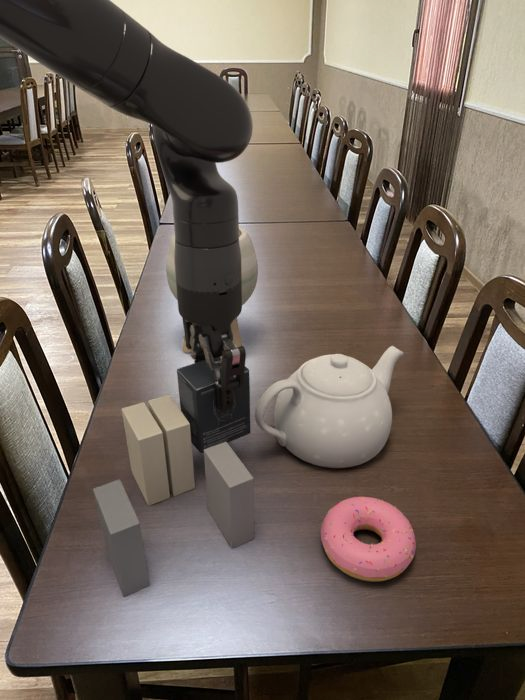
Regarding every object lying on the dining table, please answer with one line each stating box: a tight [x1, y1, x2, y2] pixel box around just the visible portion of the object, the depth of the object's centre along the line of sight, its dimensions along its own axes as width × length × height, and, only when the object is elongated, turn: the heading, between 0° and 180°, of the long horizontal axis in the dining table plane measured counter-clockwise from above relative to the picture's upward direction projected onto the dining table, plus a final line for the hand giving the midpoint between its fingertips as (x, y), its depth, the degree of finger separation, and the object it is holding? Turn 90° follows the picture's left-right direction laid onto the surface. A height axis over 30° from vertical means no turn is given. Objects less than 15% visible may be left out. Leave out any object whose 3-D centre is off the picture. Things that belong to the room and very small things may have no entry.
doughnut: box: [320, 494, 417, 583], centre depth 62 cm, size 11×11×4 cm
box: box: [176, 357, 252, 455], centre depth 71 cm, size 8×6×11 cm
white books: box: [121, 393, 196, 507], centre depth 70 cm, size 6×7×11 cm
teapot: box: [254, 345, 405, 469], centre depth 78 cm, size 19×18×14 cm
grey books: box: [92, 442, 255, 597], centre depth 61 cm, size 16×7×10 cm, turn 119°
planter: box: [165, 225, 259, 354], centre depth 97 cm, size 16×16×22 cm
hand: (214, 394), depth 70 cm, fingers closed on box, 5 cm apart
